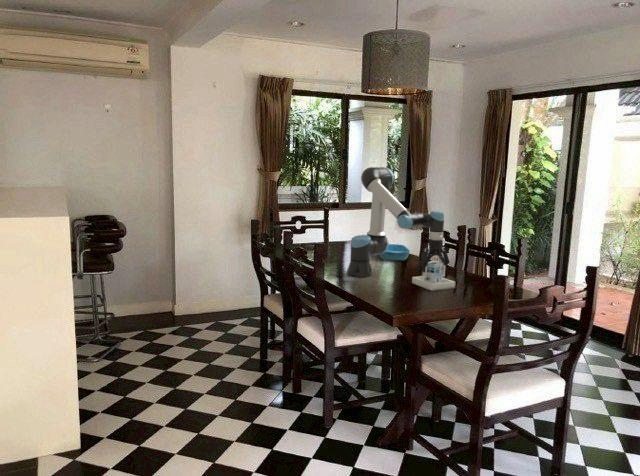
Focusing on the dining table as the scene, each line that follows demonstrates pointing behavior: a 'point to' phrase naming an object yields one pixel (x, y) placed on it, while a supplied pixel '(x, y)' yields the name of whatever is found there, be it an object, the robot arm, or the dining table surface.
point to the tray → (431, 286)
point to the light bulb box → (434, 272)
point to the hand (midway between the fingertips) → (433, 277)
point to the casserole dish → (395, 252)
